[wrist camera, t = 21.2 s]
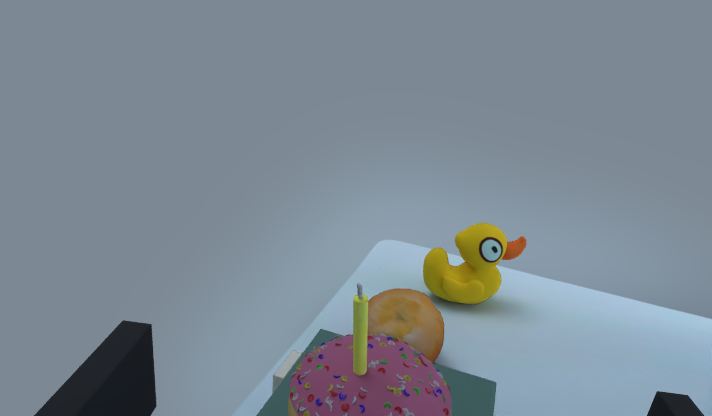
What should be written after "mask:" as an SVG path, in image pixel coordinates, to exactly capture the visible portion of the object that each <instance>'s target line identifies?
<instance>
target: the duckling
mask: <svg viewBox="0 0 712 416" xmlns="http://www.w3.org/2000/svg"><path fill="white" fill-rule="evenodd" d="M455 242H456V246H457V248H458V249H459V251H460V254H461V257H462V258H463V260H464V261H466V262H464V263H462V264H461V265H459V266H452V265H449V262H448V257H447V253H446V251H445V250H444V249H442V248H434V249H432V250H431V251H430V252H429V253H428V254H427V255H426V257H425V260H424V266H423V277H424V282H425V284H426V286H427V287H428V289H429V290H430V291H431V292H432V293H434V294H435V295H437V296H439V297H441V298H443V299H445V300H448V301H451V302H457V303H465V304H478V303H481V302H483V301H485V300H486V299H488V298H490V297H491V296H492V295H494V294H495V293H496V292H497V291H498V289H499V287H500V284H501V275H500V273H499V270H498V269H497V267H496V266H495V265H496V264H497V263H499V261H500V260H501V259H503V260H510V259H513V258H516V257H518V256H519V255H520V254H521V253H522V252H523V250H524V248H525V247H526V239H525V237H520V238H519V239H518V240H515V241H512V242H507V239H506V236H505V234H504V233H503V232H502V231H501V230H500V229H499V228H497V227H495V226H493V225H491V224H488V223H479V224H475V225H472V226H470V227H468V228H467V229H465V230H463V231H461V232H459V233H458V234H457V235H456V237H455Z"/></svg>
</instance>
